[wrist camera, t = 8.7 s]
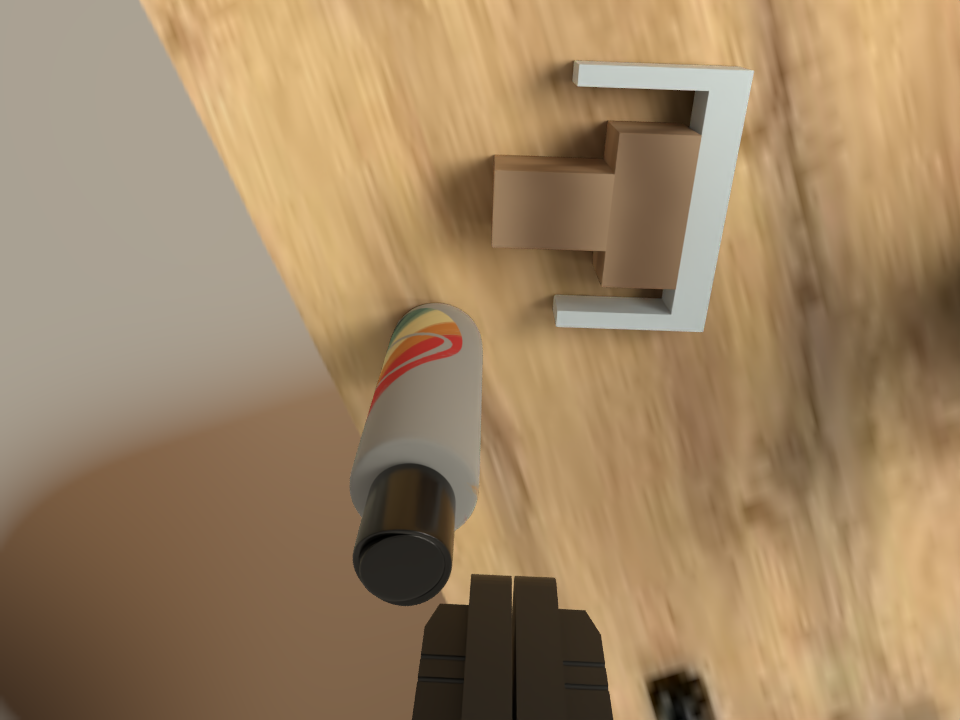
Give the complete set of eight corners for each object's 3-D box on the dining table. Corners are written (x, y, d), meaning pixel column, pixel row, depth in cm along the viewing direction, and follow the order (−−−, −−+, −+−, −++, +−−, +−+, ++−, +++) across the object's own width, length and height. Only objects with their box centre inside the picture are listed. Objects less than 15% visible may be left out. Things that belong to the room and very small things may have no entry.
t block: (682, 123, 38) (701, 135, 34) (659, 264, 41) (675, 289, 38) (496, 116, 38) (496, 128, 34) (490, 258, 41) (490, 282, 38)
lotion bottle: (385, 304, 43) (309, 520, 25) (478, 296, 42) (468, 509, 25) (399, 386, 45) (339, 634, 27) (487, 378, 45) (484, 626, 27)
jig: (737, 66, 36) (754, 70, 34) (692, 314, 43) (703, 331, 40) (574, 60, 36) (579, 64, 34) (552, 309, 43) (556, 326, 40)
